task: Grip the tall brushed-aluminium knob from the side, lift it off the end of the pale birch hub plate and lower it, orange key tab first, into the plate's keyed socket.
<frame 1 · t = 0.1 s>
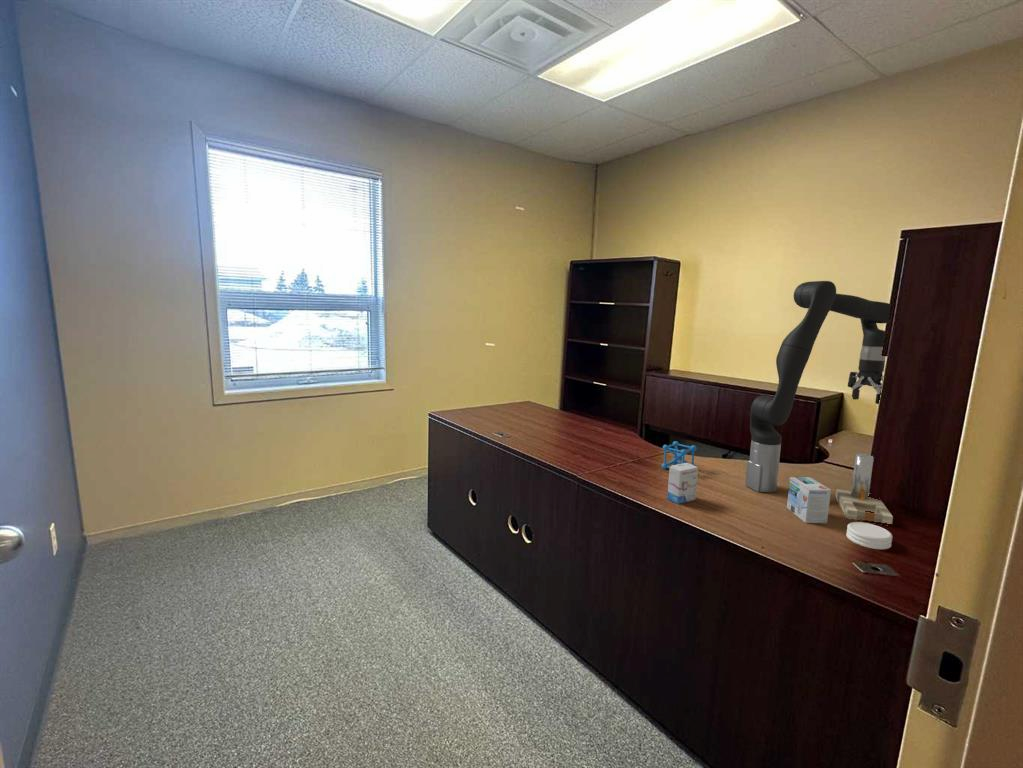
hand: (866, 401, 173), 29 cm above the table, tool pointing down, fingers open, 8 cm apart
coaster: (867, 541, 129), on the table
hub plate: (861, 510, 148), on the table
molecular structure: (678, 469, 185), on the table
ink box: (681, 500, 156), on the table
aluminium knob: (859, 496, 151), point 3 cm above the table, touching hub plate
light bulb box: (806, 516, 144), on the table
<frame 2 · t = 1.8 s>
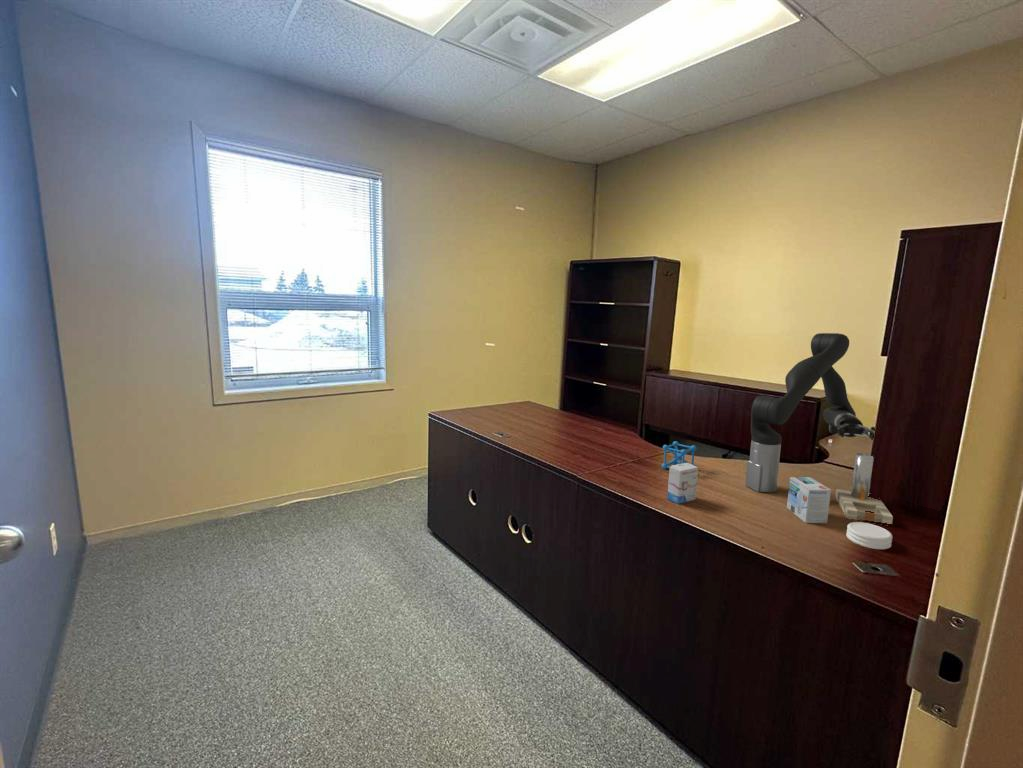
hand: (858, 435, 158), 21 cm above the table, tool horizontal, fingers open, 8 cm apart
nothing on the table moved.
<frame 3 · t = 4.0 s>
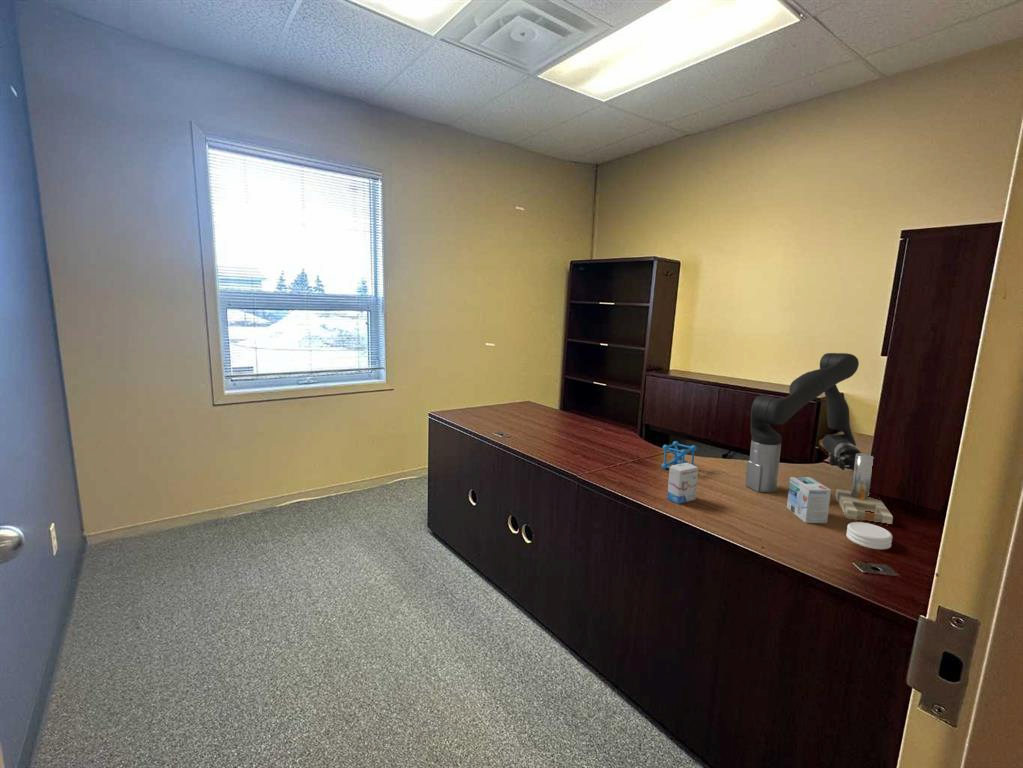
hand: (859, 469, 154), 11 cm above the table, tool horizontal, fingers open, 8 cm apart
nothing on the table moved.
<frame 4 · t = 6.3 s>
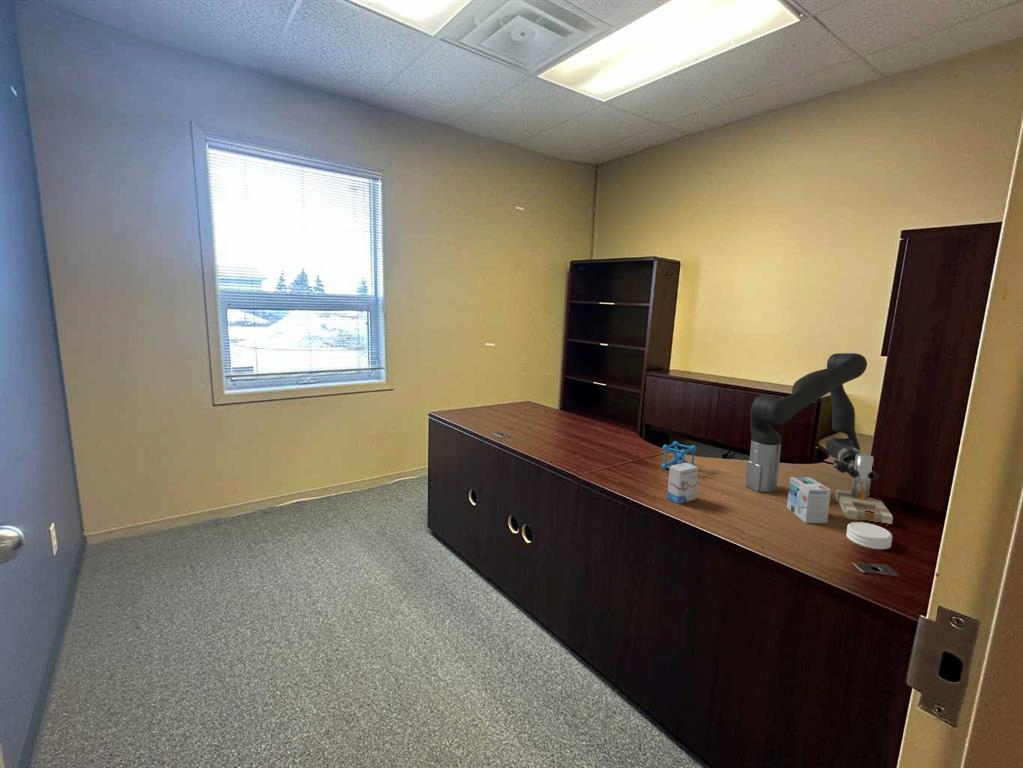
hand: (864, 475, 147), 11 cm above the table, tool horizontal, fingers closed on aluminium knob, 4 cm apart
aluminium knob: (859, 496, 151), point 3 cm above the table, touching gripper, hub plate
everything else where it was.
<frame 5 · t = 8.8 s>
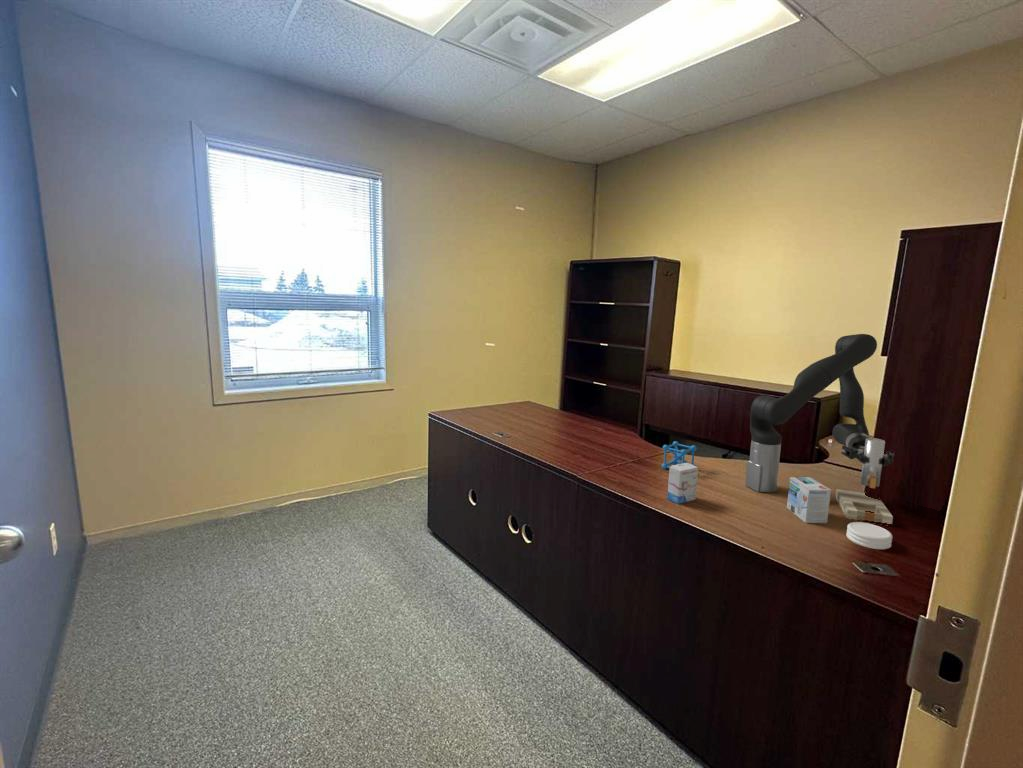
hand: (875, 461, 138), 19 cm above the table, tool horizontal, fingers closed on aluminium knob, 4 cm apart
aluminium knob: (869, 484, 142), point 11 cm above the table, touching gripper
everything else where it was.
when the fingers open (9 cm above the table, at t = 11.6 s): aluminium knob drops 1 cm, resting in hub plate.
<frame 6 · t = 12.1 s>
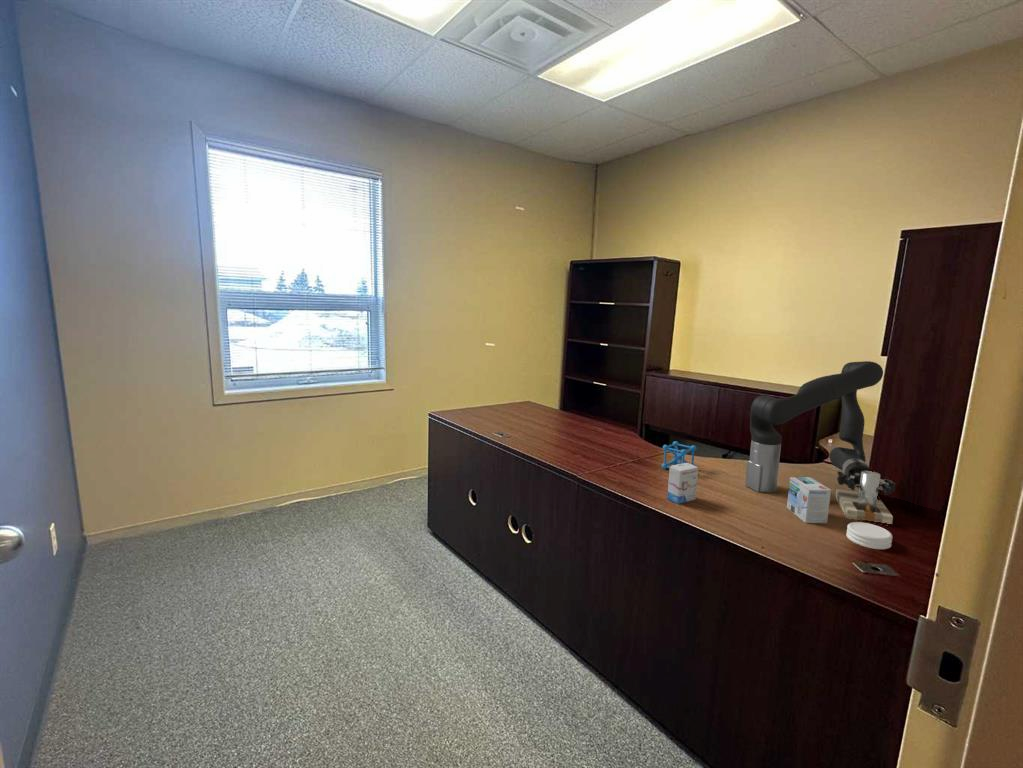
hand: (870, 489, 140), 10 cm above the table, tool horizontal, fingers open, 8 cm apart
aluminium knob: (864, 516, 144), resting in hub plate
everything else where it was.
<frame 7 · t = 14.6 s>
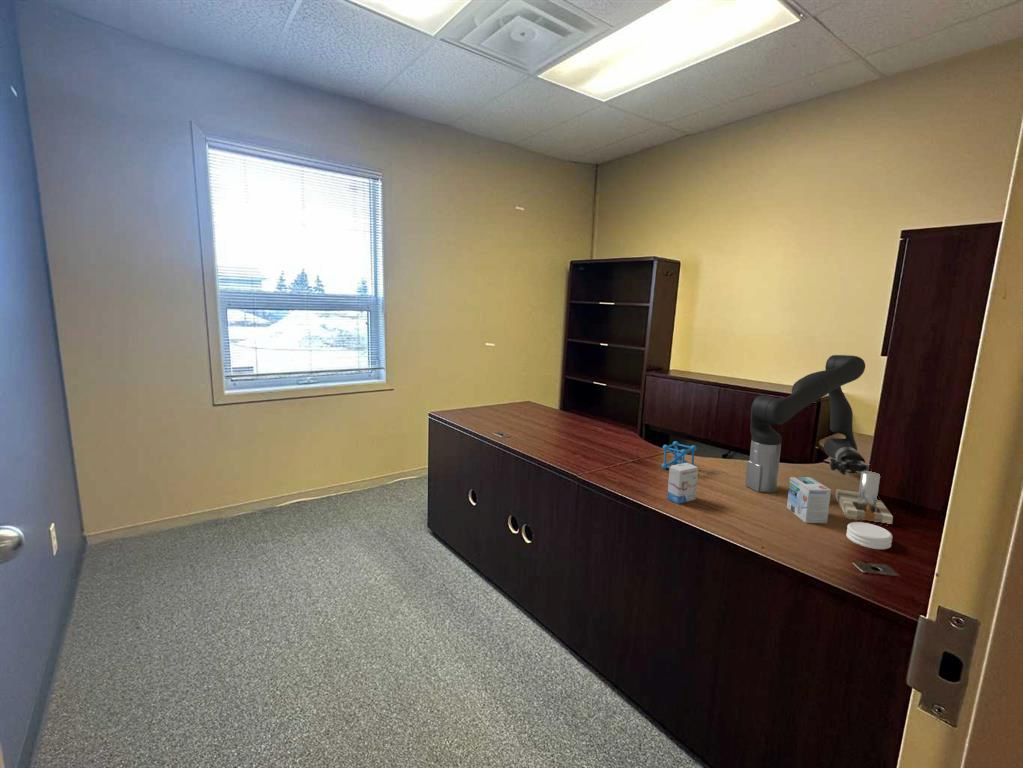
hand: (860, 474, 151), 10 cm above the table, tool horizontal, fingers open, 8 cm apart
nothing on the table moved.
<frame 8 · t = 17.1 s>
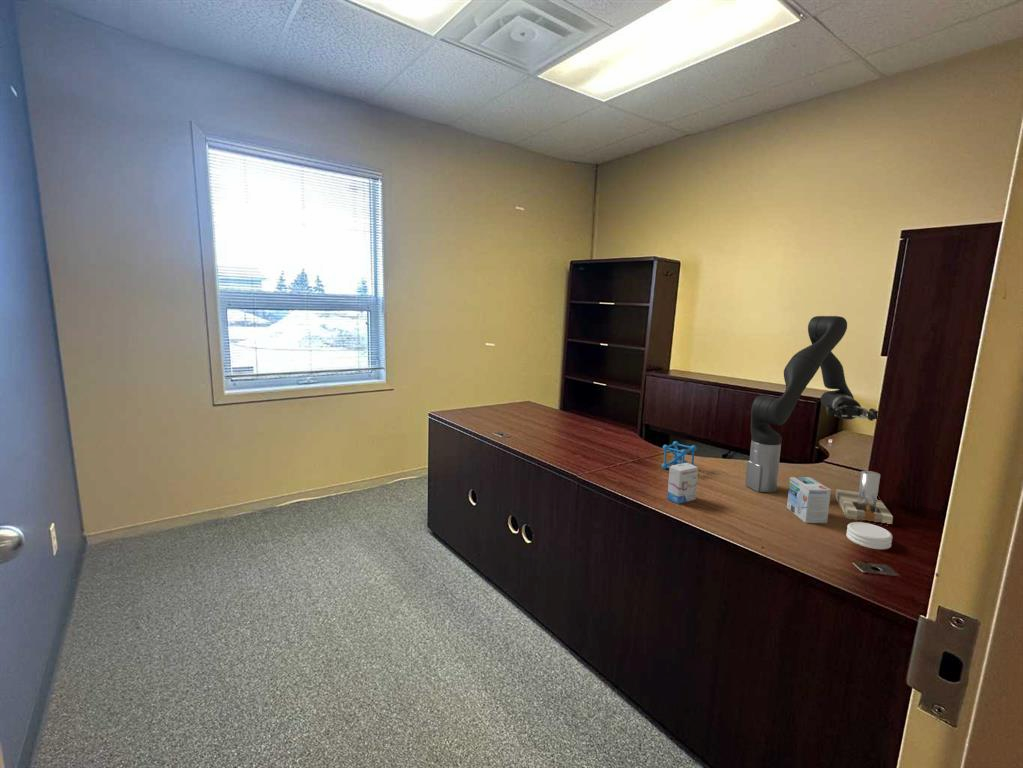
hand: (856, 416, 155), 28 cm above the table, tool horizontal, fingers open, 8 cm apart
nothing on the table moved.
at the end: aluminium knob 0.1 cm from the target spot on the hub plate, point 0.0 cm above the hub plate's base; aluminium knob tilted 0°; the gripper is holding nothing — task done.
